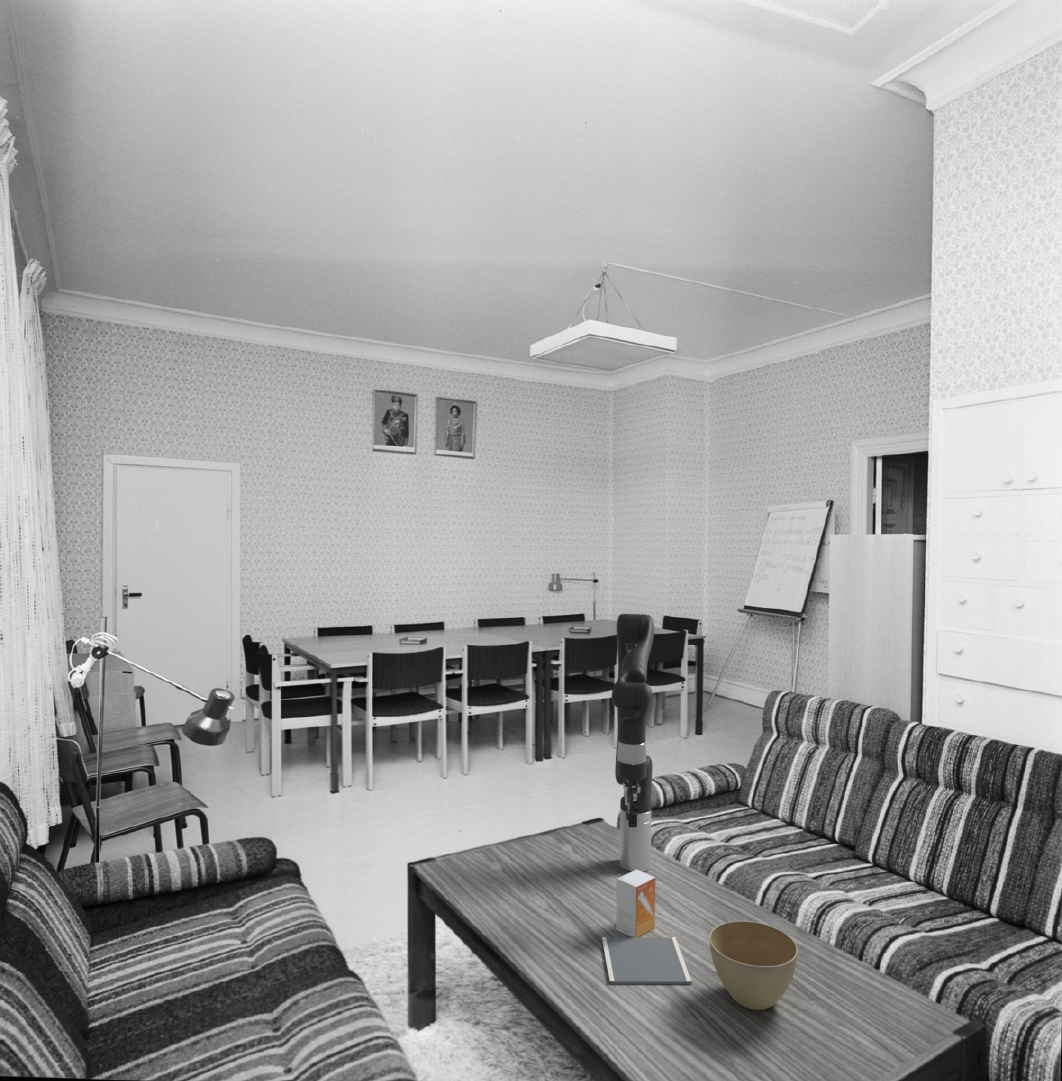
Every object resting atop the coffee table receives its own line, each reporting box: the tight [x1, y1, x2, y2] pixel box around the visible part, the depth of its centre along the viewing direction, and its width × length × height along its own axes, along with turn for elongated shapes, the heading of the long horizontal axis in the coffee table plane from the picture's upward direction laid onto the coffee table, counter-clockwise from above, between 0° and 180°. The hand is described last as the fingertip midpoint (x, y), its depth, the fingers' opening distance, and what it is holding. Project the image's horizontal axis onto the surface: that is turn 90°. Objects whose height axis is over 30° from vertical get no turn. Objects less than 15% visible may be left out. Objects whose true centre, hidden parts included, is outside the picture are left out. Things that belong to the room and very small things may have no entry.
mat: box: [601, 936, 692, 985], centre depth 174 cm, size 18×18×1 cm
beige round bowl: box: [708, 920, 799, 1011], centre depth 160 cm, size 18×18×12 cm
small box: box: [615, 870, 656, 937], centre depth 188 cm, size 8×6×13 cm
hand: (631, 823), depth 197 cm, fingers open, 4 cm apart
